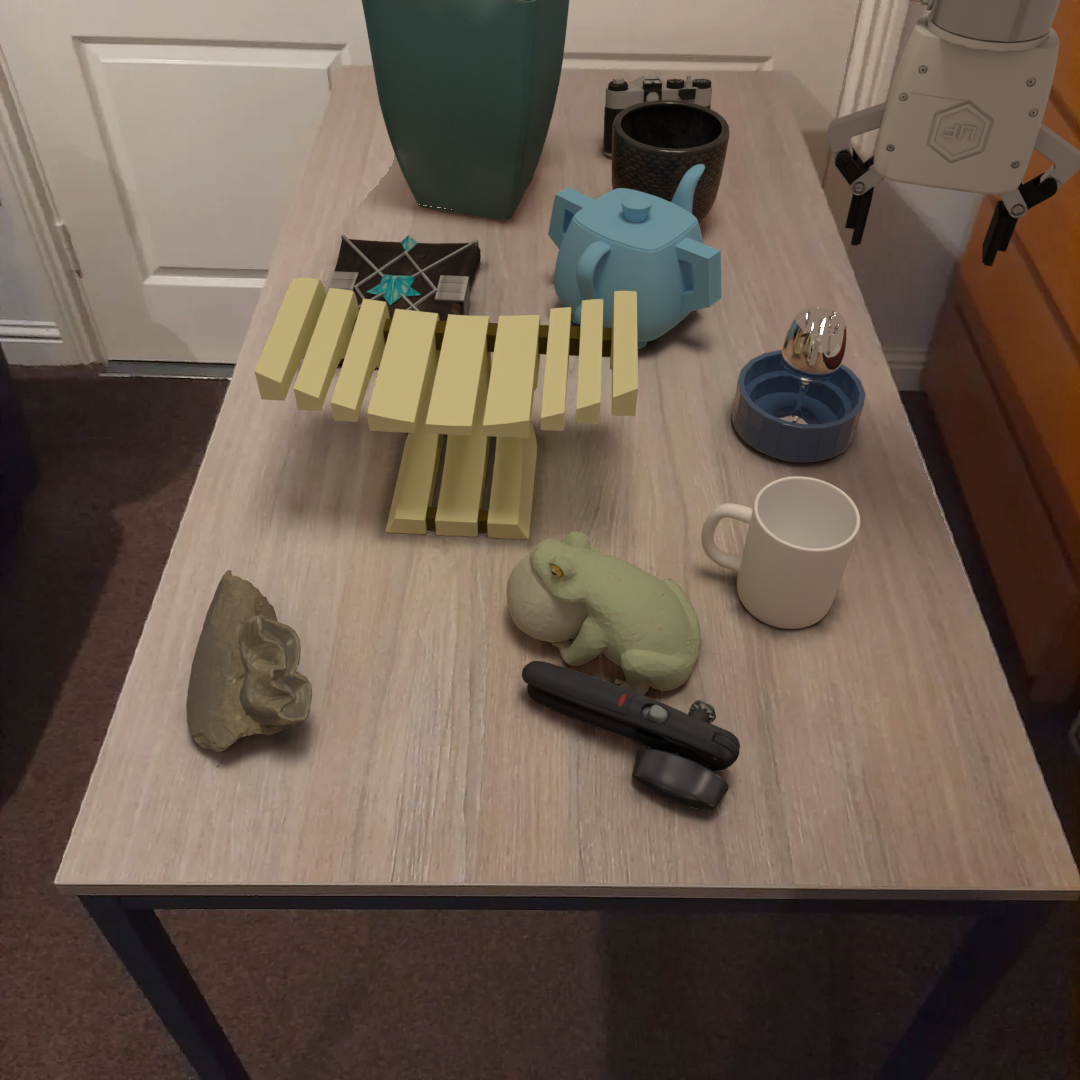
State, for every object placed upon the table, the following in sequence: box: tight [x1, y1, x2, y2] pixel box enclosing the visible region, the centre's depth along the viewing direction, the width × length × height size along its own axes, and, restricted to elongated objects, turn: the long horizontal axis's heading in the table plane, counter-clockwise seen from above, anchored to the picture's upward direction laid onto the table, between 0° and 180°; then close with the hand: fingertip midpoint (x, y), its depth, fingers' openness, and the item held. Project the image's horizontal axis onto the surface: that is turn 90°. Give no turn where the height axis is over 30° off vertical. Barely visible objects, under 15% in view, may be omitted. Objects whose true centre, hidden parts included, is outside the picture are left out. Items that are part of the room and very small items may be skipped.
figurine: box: [506, 530, 702, 696], centre depth 79 cm, size 10×16×10 cm, turn 66°
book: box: [324, 234, 482, 364], centre depth 113 cm, size 22×17×5 cm
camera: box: [602, 74, 713, 157], centre depth 140 cm, size 15×11×10 cm
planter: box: [611, 100, 731, 224], centre depth 124 cm, size 14×14×13 cm
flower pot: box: [361, 0, 570, 222], centre depth 123 cm, size 20×20×28 cm
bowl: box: [730, 349, 866, 463], centre depth 100 cm, size 12×12×5 cm
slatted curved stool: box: [254, 277, 639, 540], centre depth 90 cm, size 30×16×18 cm, turn 87°
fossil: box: [185, 569, 313, 753], centre depth 76 cm, size 14×10×10 cm
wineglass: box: [774, 306, 847, 424], centre depth 97 cm, size 6×6×12 cm
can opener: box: [521, 660, 741, 811], centre depth 75 cm, size 18×7×6 cm, turn 58°
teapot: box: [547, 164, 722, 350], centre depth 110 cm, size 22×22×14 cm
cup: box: [700, 475, 861, 630], centre depth 83 cm, size 8×12×10 cm
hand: (920, 246), depth 77 cm, fingers open, 9 cm apart
